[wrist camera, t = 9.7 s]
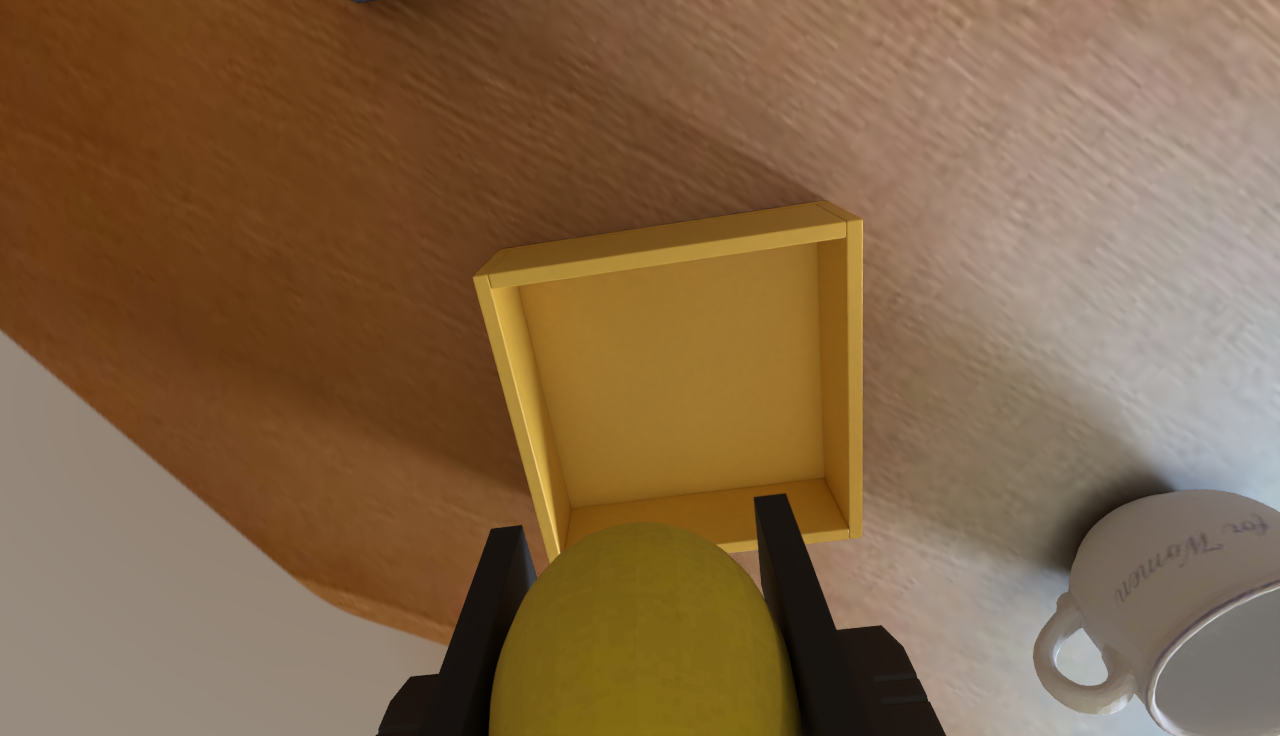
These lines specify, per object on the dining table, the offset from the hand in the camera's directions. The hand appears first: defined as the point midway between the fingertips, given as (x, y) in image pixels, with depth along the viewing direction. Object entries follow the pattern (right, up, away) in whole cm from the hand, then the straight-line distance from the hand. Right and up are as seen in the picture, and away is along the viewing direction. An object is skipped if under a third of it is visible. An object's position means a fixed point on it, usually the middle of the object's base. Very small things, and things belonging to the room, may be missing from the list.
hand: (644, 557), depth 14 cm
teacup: (+26, -5, +18) cm, 32 cm away
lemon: (0, 0, 0) cm, 1 cm away
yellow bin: (+2, +4, +14) cm, 15 cm away
